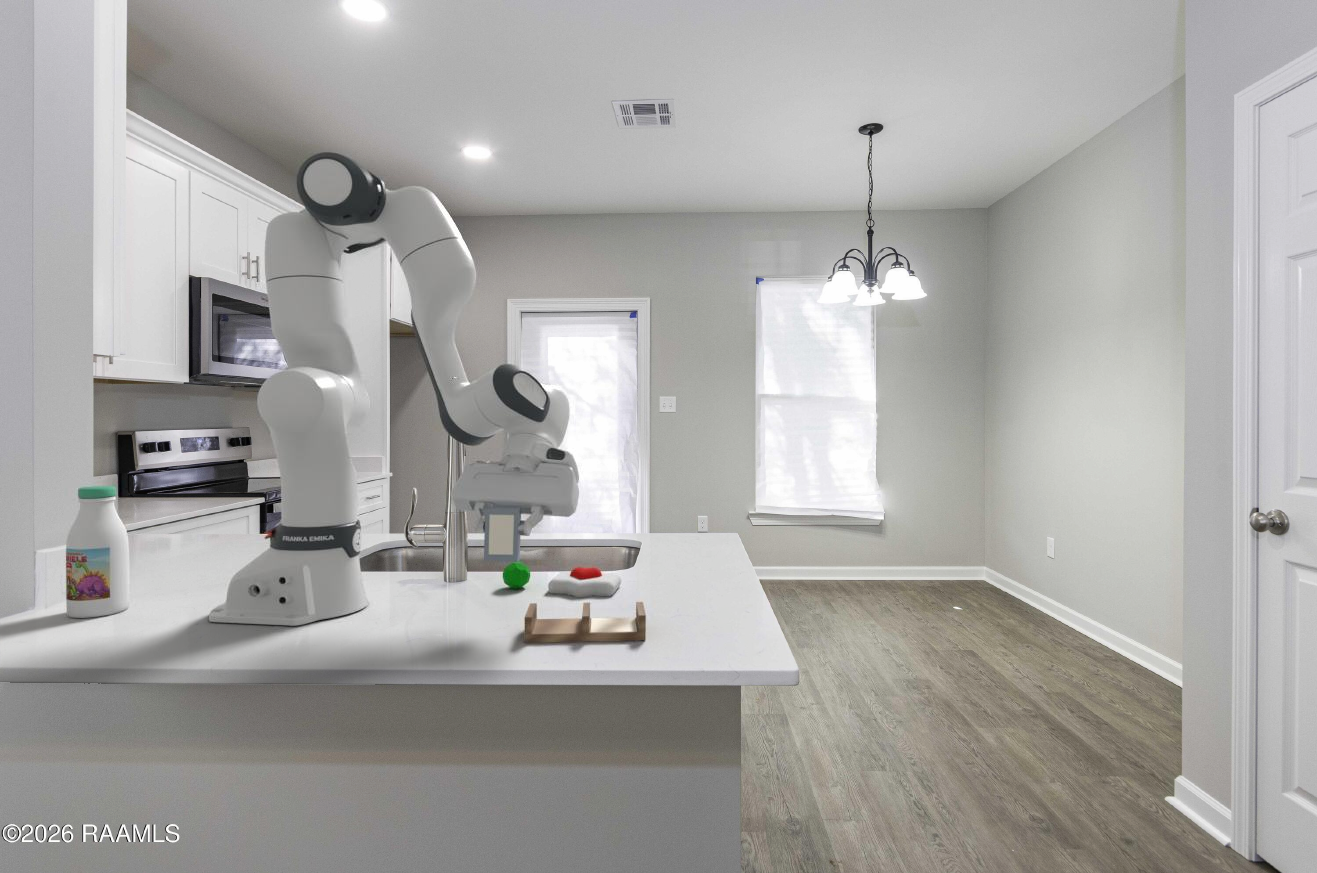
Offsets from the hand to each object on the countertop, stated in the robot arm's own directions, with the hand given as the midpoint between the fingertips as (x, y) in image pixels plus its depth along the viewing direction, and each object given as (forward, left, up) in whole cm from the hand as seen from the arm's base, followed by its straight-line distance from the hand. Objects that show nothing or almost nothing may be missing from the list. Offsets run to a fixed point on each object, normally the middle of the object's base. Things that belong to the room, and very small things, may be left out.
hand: (501, 532), depth 101 cm
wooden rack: (+13, -5, -14) cm, 20 cm away
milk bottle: (-64, +10, -14) cm, 67 cm away
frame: (0, +1, -4) cm, 4 cm away
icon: (+12, +19, -15) cm, 27 cm away
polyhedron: (0, +22, -14) cm, 26 cm away
